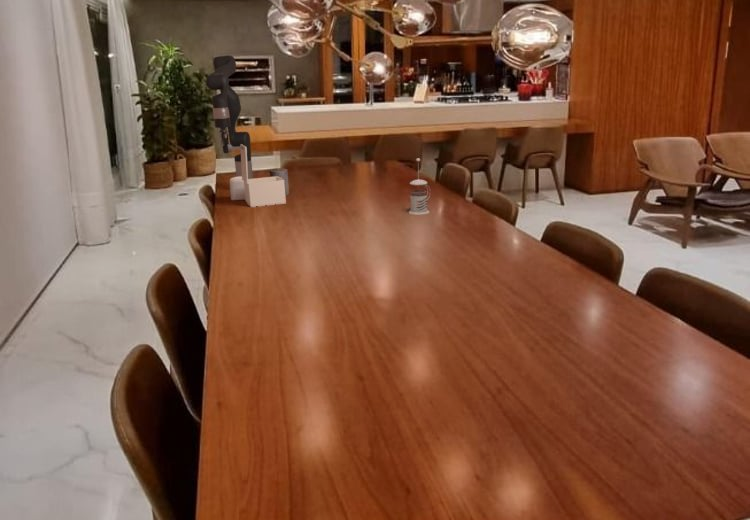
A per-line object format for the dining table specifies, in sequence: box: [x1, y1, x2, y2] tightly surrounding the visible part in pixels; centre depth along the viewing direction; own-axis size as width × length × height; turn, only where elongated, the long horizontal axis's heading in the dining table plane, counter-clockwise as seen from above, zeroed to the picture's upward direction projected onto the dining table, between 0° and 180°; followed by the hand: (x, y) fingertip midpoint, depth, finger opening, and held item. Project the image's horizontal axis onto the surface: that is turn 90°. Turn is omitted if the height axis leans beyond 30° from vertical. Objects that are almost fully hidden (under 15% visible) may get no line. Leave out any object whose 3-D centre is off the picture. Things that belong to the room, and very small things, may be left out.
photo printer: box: [229, 176, 246, 201], centre depth 338 cm, size 10×4×12 cm, turn 98°
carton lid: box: [228, 143, 248, 184], centre depth 318 cm, size 14×19×10 cm
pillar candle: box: [269, 167, 290, 197], centre depth 347 cm, size 10×10×15 cm
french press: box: [408, 157, 431, 216], centre depth 292 cm, size 10×12×25 cm
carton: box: [244, 176, 287, 208], centre depth 328 cm, size 14×18×12 cm
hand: (225, 152), depth 315 cm, fingers closed
